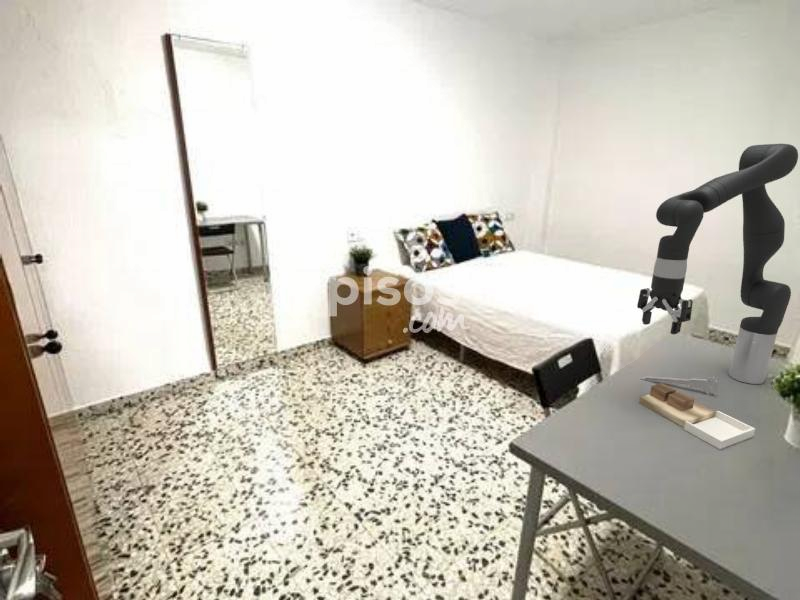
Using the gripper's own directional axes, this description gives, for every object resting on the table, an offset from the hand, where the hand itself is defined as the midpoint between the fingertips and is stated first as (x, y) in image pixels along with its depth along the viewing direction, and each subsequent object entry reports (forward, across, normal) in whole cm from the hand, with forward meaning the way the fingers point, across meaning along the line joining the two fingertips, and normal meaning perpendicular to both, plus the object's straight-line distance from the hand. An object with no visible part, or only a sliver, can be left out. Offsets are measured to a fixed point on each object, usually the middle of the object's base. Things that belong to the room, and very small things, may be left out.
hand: (659, 328), depth 118 cm
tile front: (+22, -8, -3) cm, 23 cm away
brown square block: (+22, -2, -3) cm, 22 cm away
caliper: (+24, +2, -16) cm, 29 cm away
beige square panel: (+24, -7, -3) cm, 25 cm away
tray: (+24, -18, -3) cm, 30 cm away
